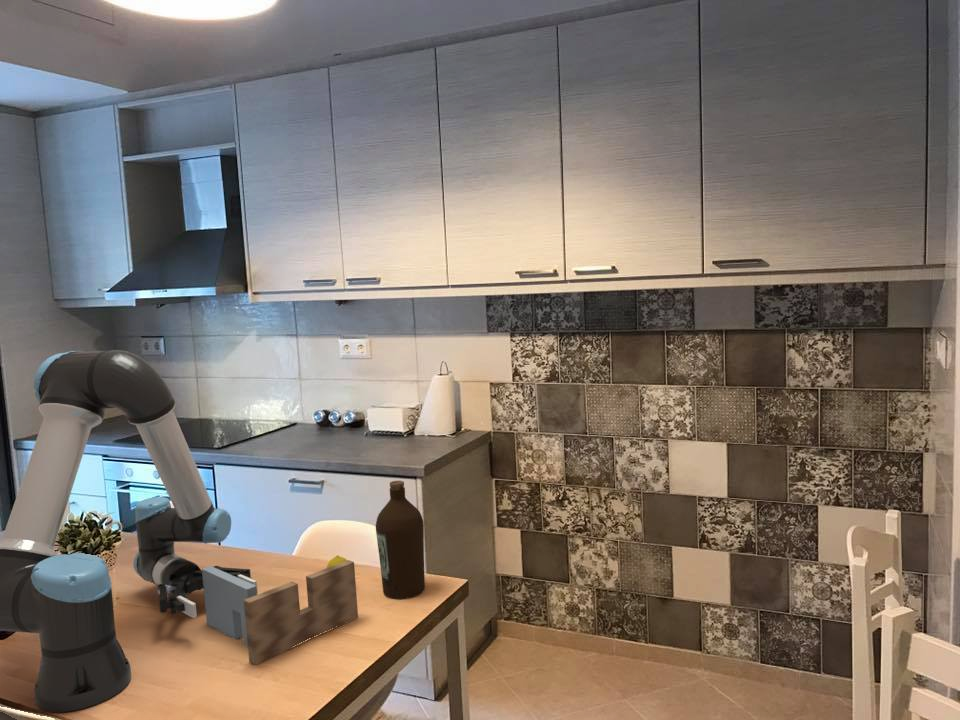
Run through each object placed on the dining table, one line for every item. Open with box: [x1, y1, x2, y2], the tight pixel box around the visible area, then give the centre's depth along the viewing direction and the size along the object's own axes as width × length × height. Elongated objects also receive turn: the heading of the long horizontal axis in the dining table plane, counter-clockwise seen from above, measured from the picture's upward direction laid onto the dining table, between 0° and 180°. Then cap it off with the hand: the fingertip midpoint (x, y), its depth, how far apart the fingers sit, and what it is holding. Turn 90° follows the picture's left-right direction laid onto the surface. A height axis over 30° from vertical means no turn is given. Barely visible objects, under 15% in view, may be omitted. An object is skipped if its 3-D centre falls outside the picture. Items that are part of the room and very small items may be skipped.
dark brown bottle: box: [375, 480, 426, 600], centre depth 166 cm, size 11×11×25 cm
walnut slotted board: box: [244, 559, 359, 666], centre depth 146 cm, size 24×2×12 cm, turn 137°
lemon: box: [326, 555, 348, 568], centre depth 169 cm, size 6×6×8 cm
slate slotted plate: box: [201, 565, 258, 648], centre depth 149 cm, size 18×2×12 cm, turn 47°
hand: (226, 599), depth 150 cm, fingers open, 13 cm apart
